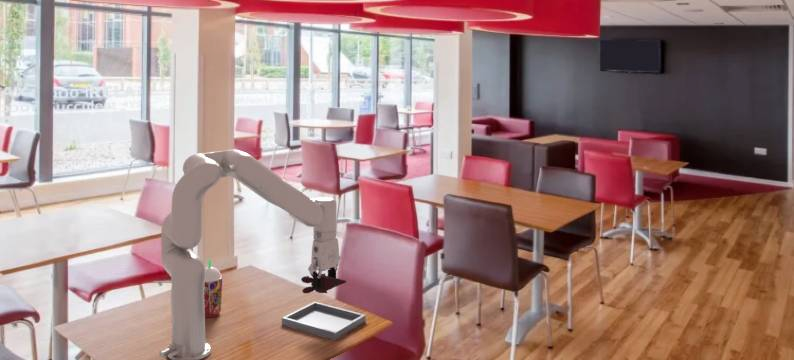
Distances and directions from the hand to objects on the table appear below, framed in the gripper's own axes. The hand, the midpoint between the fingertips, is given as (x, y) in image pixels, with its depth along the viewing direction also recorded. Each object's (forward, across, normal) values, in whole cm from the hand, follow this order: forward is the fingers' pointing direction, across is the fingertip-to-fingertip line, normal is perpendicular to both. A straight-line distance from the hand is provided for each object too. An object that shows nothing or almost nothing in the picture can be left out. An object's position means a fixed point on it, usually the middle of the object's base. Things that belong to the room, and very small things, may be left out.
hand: (324, 284), depth 220 cm
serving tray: (+14, 0, 0) cm, 14 cm away
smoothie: (+14, -16, +37) cm, 43 cm away
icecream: (+3, 0, 0) cm, 3 cm away
